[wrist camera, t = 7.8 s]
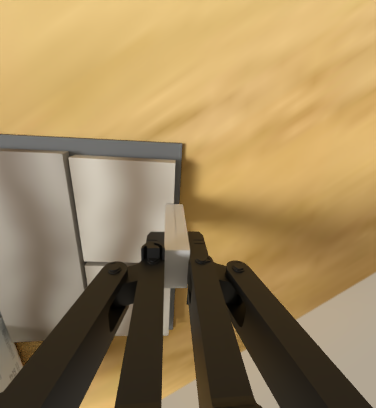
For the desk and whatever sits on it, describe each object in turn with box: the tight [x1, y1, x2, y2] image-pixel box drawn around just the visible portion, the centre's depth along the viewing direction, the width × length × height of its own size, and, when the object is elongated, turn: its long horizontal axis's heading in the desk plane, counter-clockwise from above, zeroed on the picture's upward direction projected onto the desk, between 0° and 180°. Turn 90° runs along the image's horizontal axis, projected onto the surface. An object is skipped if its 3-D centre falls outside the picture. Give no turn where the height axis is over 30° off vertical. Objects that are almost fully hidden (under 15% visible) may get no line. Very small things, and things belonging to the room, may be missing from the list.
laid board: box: [0, 148, 88, 343], centre depth 20 cm, size 8×20×1 cm, turn 176°
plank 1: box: [68, 155, 176, 263], centre depth 19 cm, size 8×10×1 cm
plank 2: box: [85, 261, 170, 336], centre depth 23 cm, size 8×10×1 cm
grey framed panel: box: [0, 134, 182, 330], centre depth 21 cm, size 19×22×1 cm
